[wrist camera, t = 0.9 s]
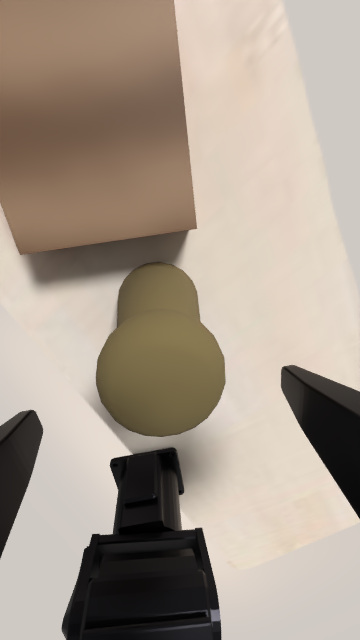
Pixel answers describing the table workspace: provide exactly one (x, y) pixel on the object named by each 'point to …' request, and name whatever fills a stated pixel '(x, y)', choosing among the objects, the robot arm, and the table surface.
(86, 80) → the walnut block
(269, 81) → the table surface
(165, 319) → the olive game pawn
